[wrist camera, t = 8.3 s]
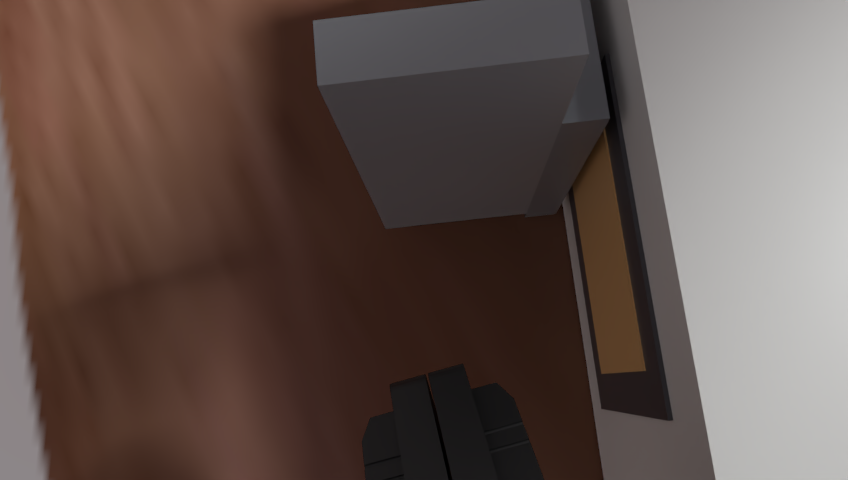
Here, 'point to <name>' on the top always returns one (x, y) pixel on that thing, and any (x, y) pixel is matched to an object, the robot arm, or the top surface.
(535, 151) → the side door
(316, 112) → the top surface
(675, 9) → the knobbed white box
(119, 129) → the top surface
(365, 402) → the top surface
